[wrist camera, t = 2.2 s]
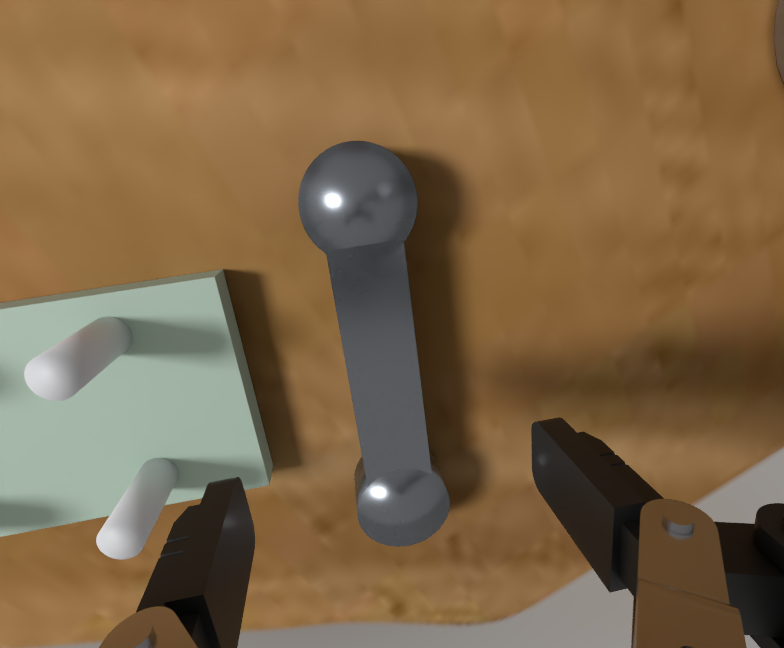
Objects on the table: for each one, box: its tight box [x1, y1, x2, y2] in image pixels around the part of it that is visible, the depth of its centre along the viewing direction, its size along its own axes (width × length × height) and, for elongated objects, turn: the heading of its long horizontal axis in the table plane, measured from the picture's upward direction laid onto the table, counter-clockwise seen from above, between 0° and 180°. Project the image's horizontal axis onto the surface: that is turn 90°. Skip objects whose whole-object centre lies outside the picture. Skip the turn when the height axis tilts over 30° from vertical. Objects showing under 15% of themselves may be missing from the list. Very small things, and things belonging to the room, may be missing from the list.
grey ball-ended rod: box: [299, 141, 450, 546], centre depth 20 cm, size 18×4×3 cm, turn 8°
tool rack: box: [0, 269, 273, 559], centre depth 18 cm, size 18×10×6 cm, turn 98°
